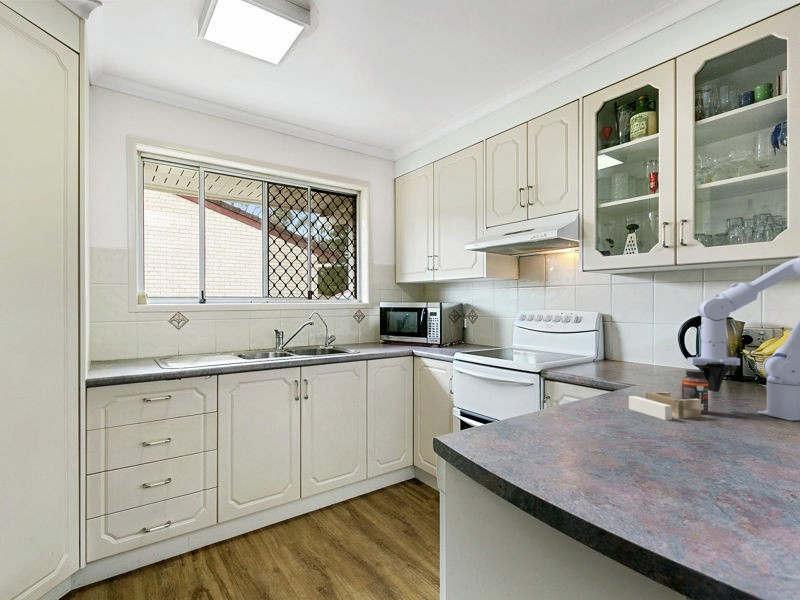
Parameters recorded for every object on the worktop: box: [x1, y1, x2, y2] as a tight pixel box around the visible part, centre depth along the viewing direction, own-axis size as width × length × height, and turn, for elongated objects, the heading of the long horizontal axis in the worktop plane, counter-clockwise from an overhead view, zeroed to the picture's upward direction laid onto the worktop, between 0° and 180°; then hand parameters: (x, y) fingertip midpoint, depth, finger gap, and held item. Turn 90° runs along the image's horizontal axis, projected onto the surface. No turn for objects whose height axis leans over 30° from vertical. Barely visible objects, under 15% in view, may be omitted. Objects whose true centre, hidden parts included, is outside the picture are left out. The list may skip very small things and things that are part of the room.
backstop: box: [628, 395, 673, 421], centre depth 110 cm, size 2×12×4 cm, turn 13°
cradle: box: [645, 391, 702, 419], centre depth 111 cm, size 7×10×4 cm
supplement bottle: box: [681, 369, 709, 415], centre depth 113 cm, size 6×6×11 cm
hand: (713, 390), depth 114 cm, fingers closed
